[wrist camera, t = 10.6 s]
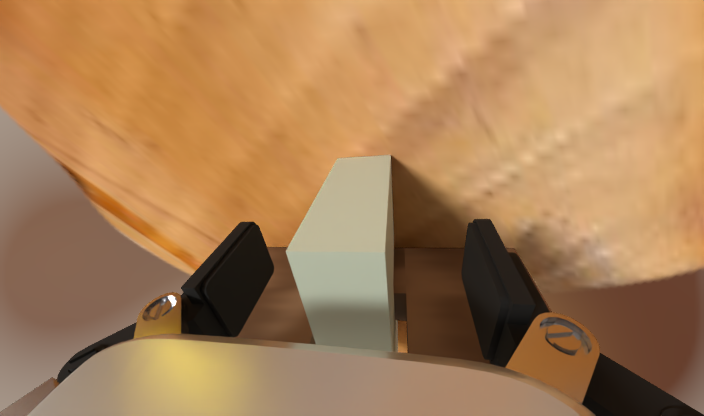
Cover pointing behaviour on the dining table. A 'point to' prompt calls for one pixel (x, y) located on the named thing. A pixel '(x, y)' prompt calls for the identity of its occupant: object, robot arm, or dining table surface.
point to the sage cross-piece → (349, 257)
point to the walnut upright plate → (409, 303)
